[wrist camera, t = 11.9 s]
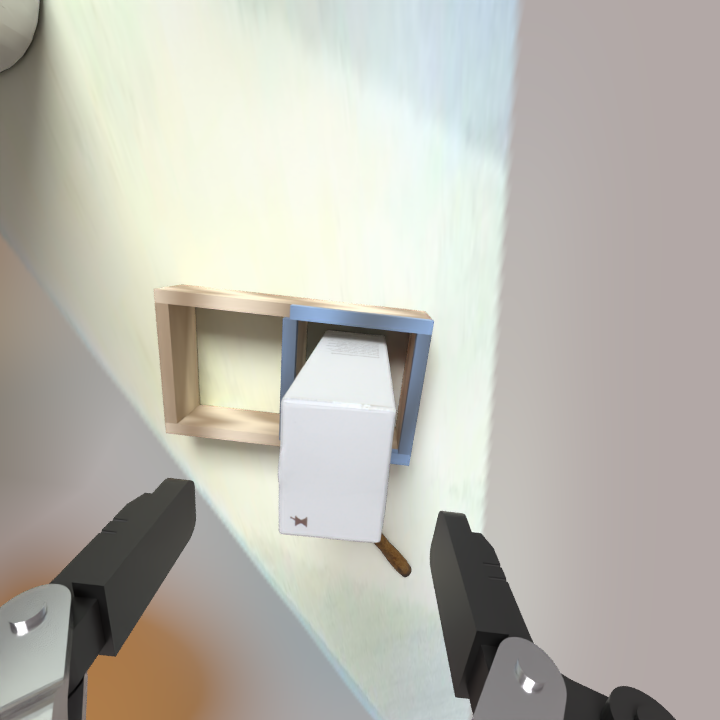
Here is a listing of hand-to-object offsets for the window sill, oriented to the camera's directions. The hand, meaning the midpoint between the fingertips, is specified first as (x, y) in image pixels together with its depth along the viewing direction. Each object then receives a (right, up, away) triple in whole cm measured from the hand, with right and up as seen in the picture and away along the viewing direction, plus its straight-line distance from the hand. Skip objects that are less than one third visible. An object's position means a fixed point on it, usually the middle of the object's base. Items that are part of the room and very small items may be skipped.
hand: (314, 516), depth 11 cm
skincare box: (+1, +4, +13) cm, 14 cm away
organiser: (-3, +5, +13) cm, 14 cm away
